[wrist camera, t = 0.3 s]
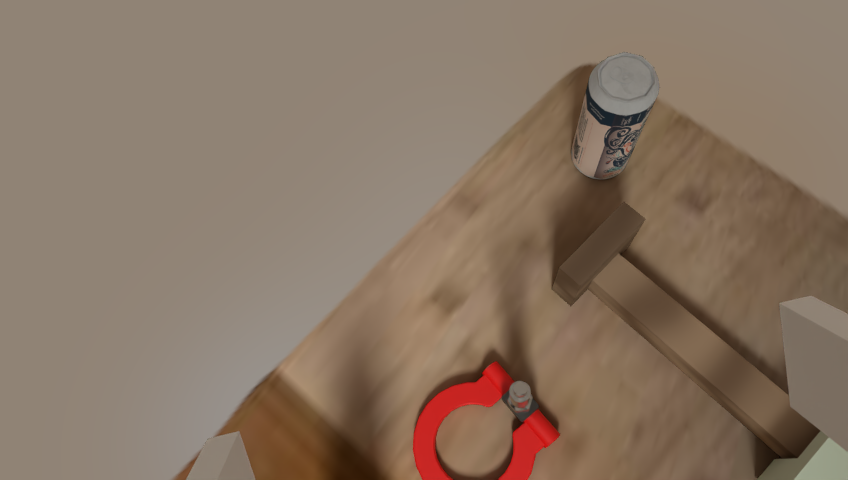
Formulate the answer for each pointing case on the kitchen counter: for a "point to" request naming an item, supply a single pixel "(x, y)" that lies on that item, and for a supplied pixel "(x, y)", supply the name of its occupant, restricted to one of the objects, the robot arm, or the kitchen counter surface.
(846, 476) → the slider
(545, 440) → the tow hook
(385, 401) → the kitchen counter surface
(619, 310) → the rail
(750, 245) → the kitchen counter surface
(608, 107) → the beer can
